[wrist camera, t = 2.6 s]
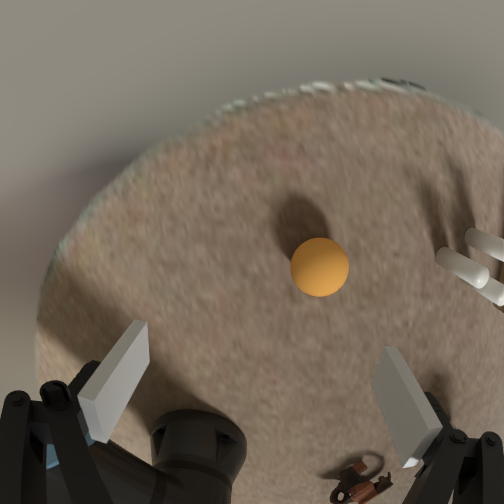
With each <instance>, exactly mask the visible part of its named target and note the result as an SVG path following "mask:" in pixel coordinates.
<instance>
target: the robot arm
mask: <svg viewBox="0 0 504 504" xmlns="http://www.w3.org/2000/svg"><path fill="white" fill-rule="evenodd" d="M149 362H150V358H149V344H148V327H147V322H146V321H141V320H135V319H134V321H133V322H132V323H131V324H130V326H129V327H128V328H127V330H126V331H125V332H124V333H123V335H122V336H121V337H120V339H119V340H118V341H117V343H116V344H115V345H114V347H113V348H112V349H111V350H110V352H109V353H108V354H107V356H106V357H105V358H104V360H103V361H102V362H98V361H94V360H92V361H91V362H89V363H87V364H85V365H84V366H83V368H82V369H81V370H80V372H79V373H78V374H77V375H76V378H74V379H73V380H72V382H71V383H70V384H69V385H68V386H67V385H66V384H65V383H64V382H62V381H58V380H53V381H49V382H46V383H45V384H43V385H42V386H41V388H40V396H41V398H42V401H43V402H42V401H33V400H31V399H30V397H29V395H28V394H27V393H26V392H24V391H20V390H18V391H13V392H11V393H9V394H8V395H7V396H6V398H5V401H4V405H3V409H2V414H1V418H0V504H231V492H232V484H233V482H234V480H235V478H236V477H237V475H238V473H239V471H240V469H241V467H242V465H243V464H244V462H245V459H246V453H247V442H246V438H245V436H244V434H243V433H242V432H241V430H240V429H239V428H238V427H236V426H235V425H234V424H233V423H231V422H230V421H228V420H226V419H224V418H222V417H220V416H217V415H214V414H211V413H207V412H203V411H196V410H180V411H174V412H170V413H168V414H165V415H163V416H162V417H160V418H159V419H158V420H157V422H156V423H155V425H154V428H153V430H152V433H151V438H150V443H151V456H152V466H151V465H150V464H148V463H146V462H144V461H143V460H141V459H139V458H138V457H136V456H135V455H133V454H131V453H130V452H128V451H127V450H125V449H124V448H122V447H121V446H119V445H118V444H116V443H115V442H113V441H112V440H110V439H109V438H110V436H111V434H112V432H113V430H114V428H115V426H116V424H117V423H118V421H119V419H120V417H121V415H122V413H123V411H124V409H125V407H126V405H127V403H128V402H129V400H130V398H131V396H132V394H133V392H134V390H135V388H136V386H137V385H138V383H139V381H140V379H141V377H142V375H143V373H144V372H145V370H146V368H147V366H148V364H149ZM371 386H372V389H373V391H374V394H375V396H376V399H377V401H378V404H379V406H380V409H381V411H382V414H383V416H384V419H385V422H386V424H387V427H388V429H389V432H390V435H391V437H392V440H393V443H394V445H395V448H396V451H397V454H398V456H399V459H400V462H401V465H402V468H405V467H411V466H416V465H417V464H418V463H419V461H420V460H421V459H423V461H424V465H423V466H422V467H421V469H420V470H419V471H418V473H417V474H416V475H415V476H414V477H416V479H415V481H414V483H413V485H412V487H411V489H410V491H409V492H408V494H407V496H406V498H405V500H404V501H403V503H402V504H448V502H449V499H450V497H451V494H452V492H453V489H454V492H453V502H452V504H504V453H503V445H502V440H501V438H500V437H499V435H497V434H496V433H494V432H485V433H483V435H482V436H481V437H480V439H475V438H468V437H467V435H466V434H465V433H464V432H463V431H461V430H459V429H454V428H453V427H452V425H451V423H450V421H449V420H448V418H447V416H446V414H445V413H444V411H443V409H442V408H441V406H440V404H439V402H438V401H437V399H436V398H435V397H434V396H433V395H432V394H431V393H430V392H423V391H422V389H421V387H420V385H419V384H418V382H417V380H416V379H415V377H414V375H413V374H412V372H411V370H410V369H409V367H408V365H407V364H406V362H405V360H404V359H403V357H402V355H401V354H400V352H399V351H398V349H397V347H392V346H384V349H383V352H382V355H381V358H380V360H379V363H378V366H377V368H376V371H375V374H374V376H373V379H372V382H371Z"/></svg>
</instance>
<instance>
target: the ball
mask: <svg viewBox="0 0 504 504" xmlns="http://www.w3.org/2000/svg"><path fill="white" fill-rule="evenodd" d="M290 267H291V275H292V278H293V280H294V282H295V284H296V285H297V286H298V287H299V288H300V289H301V290H302V291H303V292H305V293H307V294H309V295H312V296H327V295H330V294H332V293H334V292H336V291H337V290H338V289H339V288H340V287H341V286H342V285H343V284H344V282H345V280H346V278H347V275H348V270H349V264H348V259H347V256H346V253H345V252H344V250H343V249H342V248H341V246H340V245H338V244H337V243H336V242H334V241H332V240H330V239H327V238H312V239H309V240H307V241H305V242H304V243H302V244H301V245H300V246H299V247H298V248H297V249H296V251H295V252H294V254H293V257H292V259H291V266H290Z"/></svg>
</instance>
